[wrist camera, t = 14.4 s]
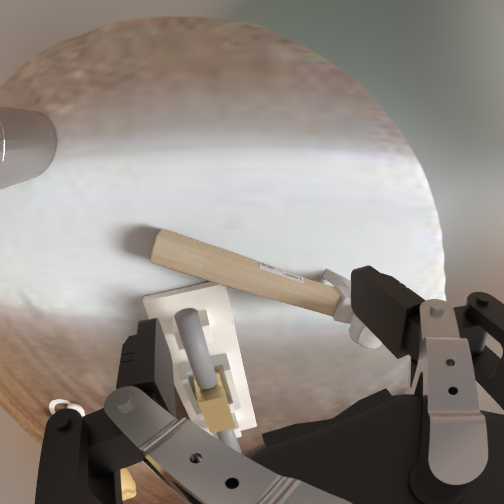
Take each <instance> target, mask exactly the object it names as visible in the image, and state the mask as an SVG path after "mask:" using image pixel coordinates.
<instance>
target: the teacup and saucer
mask: <svg viewBox="0 0 504 504" xmlns="http://www.w3.org/2000/svg"><path fill="white" fill-rule="evenodd" d="M58 403H65V404H68V405H67V408H71V409H75V410H77V411H78V412H79V413H80V414H81V416H82V417H83V416H85V414H84V409H83V408H82V407H81V406H80V405H78V404H75V403H72V402H70V401H67V400H62V399H56V400H53V401H51V402H50V404H49V410H50V412H51V413H52V415H53V414H54V413H56V412H55V409H54V407H55V405H56V404H58Z"/></svg>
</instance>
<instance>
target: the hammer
mask: <svg viewBox="0 0 504 504" xmlns="http://www.w3.org/2000/svg"><path fill="white" fill-rule="evenodd" d="M150 262H152V263H155V264H158V265H161V266H164V267H167V268H170V269H173V270H176V271H179V272H182V273H185V274H189V275H192V276H195V277H198V278H201V279H204V280H207V281H211V282H214V283H217V284H220V285H223V286H227V287H231V288H236V289H240V290H243V291H246V292H249V293H253V294H256V295H259V296H263V297H266V298H270V299H273V300H277V301H280V302H284V303H287V304H291V305H294V306H298V307H302V308H305V309H309V310H312V311H316V312H319V313H322V314H326V315H329V316H332V317H333V318H334V320H335V321H339V322H343V323H349V324H351V326H350V329H349V332H350V338H351V339H352V340H353V341H354V342H355V343H358V344H360V345H361V346H362V347H366V348H370V349H374V348H378V347H379V346H380V345H381V344H382V342H381V341H380V340H379V339H378V338H377V337H376V336H375V335H374V334H373V333H372V332H371V331H370V330H369V329H368V328H367V327H366V326H365V325H364V324H363V323H362V322H361V321H360V320H359V319H358V318H357V316H356V315H355V314H354V312H353V310H352V307H351V281H350V280H348V279H346V278H344V277H343V276H341V275H339V274H337V273H334V272H332V271H330V270H328V269H326V271H325V273H324V276H323V278H324V279H325V280H327V281H328V282H330V283H331V284H333V285H334V287H333V286H329V285H326V284H323V283H319V282H316V281H313V280H310V279H307V278H304V277H301V276H298V275H295V274H292V273H289V272H287V271H284V270H281V269H278V268H275V267H272V266H269V265H266V264H263V263H261V262H258V261H255V260H253V259H250V258H247V257H245V256H242V255H240V254H237V253H234V252H231V251H228V250H225V249H222V248H219V247H216V246H213V245H210V244H207V243H204V242H201V241H198V240H195V239H192V238H189V237H186V236H183V235H180V234H177V233H174V232H171V231H168V230H165V229H161V230H160V231H159V232H158V234H157V236H156V237H155V240H154V243H153V246H152V250H151V255H150Z"/></svg>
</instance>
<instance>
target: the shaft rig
mask: <svg viewBox="0 0 504 504" xmlns="http://www.w3.org/2000/svg"><path fill="white" fill-rule="evenodd" d="M143 304H144V307H145V310H146V313H147V316H148V319H152V318H158V319H159V322H160V324H161V327H162V330H163V333H164V336H165V339H166V341H167V344H168V347H169V350H170V353H171V357H172V362H173V377H174V385H175V387H176V389H177V392H178V394H179V396H180V398H181V401H182V403H183V405H184V407H185V409H186V411H187V414H188V416H189V418H190V420H191V421H192V422H193V423H195V424H196V425H197V426H199V427H200V428H202V429H203V430H205V431H206V432H208V433H209V434H211V435H212V436H214V437H215V438H217V439H218V440H220V441H221V442H223V443H225V444H226V445H228V446H229V447H231V448H233V449H234V450H236V451H237V452H239V453H241V449H240V447H239V444H238V441H237V438H238V437H242V435H241V432H240V431H241V430H245V429H249V428H253V427H257V424H256V420H255V416H254V412H253V407H252V403H251V399H250V394H249V390H248V386H247V381H246V377H245V372H244V368H243V363H242V359H241V354H240V350H239V345H238V340H237V336H236V331H235V326H234V322H233V317H232V312H231V307H230V302H229V297H228V293H227V288H226V286H223V285H220V284H217V283H214V282H207V283H202V284H198V285H194V286H189V287H185V288H180V289H176V290H171V291H167V292H162V293H158V294H153V295H148V296H144V297H143ZM218 369H219V373H220V376H221V379H222V383H223V386H224V389H225V392H226V396H227V399H228V402H229V406H230V409H231V413H232V417H233V420H234V424H235V428H232V429H228V430H224V431H219V432H215V433H210V430H209V428H208V426H207V424H206V421H205V419H204V417H203V415H202V412H201V410H200V407H199V405H198V403H197V396H196V390H195V383H194V377H195V380H196V382H197V385H198V387H200V388H202V389H210V388H212V387H214V386H215V385H216V384H217V377H216V374H215V371H214V370H218ZM193 375H194V376H193ZM241 454H242V453H241Z"/></svg>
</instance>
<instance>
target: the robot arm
mask: <svg viewBox="0 0 504 504" xmlns="http://www.w3.org/2000/svg"><path fill="white" fill-rule="evenodd" d="M56 143H57V140H56V132H55V128H54V126H53V124H52V122H51V121H50V120H49V118H48V117H46V116H45V115H44V114H42V113H39V112H34V111H28V110H22V109H15V108H7V107H0V190H1V189H3V188H6V187H9V186H11V185H14V184H17V183H20V182H23V181H26V180H29V179H32V178H34V177H37V176H38V175H40V174H42V173H43V172H44V171H45V170H46V169H47V167H48V166H49V165H50V163H51V161H52V159H53V157H54V154H55V150H56ZM351 307H352V310H353V312H354V314H355V315H356V316H357V318H358V319H359V320H360V321H361V322H362V323H363V324H364V325H365V326H366V327H367V328H368V329H369V330H370V331H371V332H372V333H373V334H374V335H375V336H376V337H377V338H378V339H379V340H380V341H381V342H382V343H383V344H384V345H385V346H386V347H387V348H388V349H389V350H390V351H391V353H392V354H393V355H394V356H395V357H396V358H397V359H399V358H402V357H404V356H406V355H408V354H409V355H410V360H409V377H408V394H401V395H393V396H392V395H391V394H390V393H389V391H388V390H387V389H383V390H381V391H379V392H377V393H375V394H372V395H370V396H368V397H366V398H363V399H361V400H359V401H357V402H356V403H355V404H353V405H352V406H350V407H349V408H347V409H346V410H345V411H343V412H342V413H340V414H339V415H337V416H336V417H334V418H332V419H329V420H322V421H315V422H308V423H300V424H294V425H291V426H287V427H284V428H281V429H278V430H274V431H271V432H267V433H264V434H262V437H263V442H264V443H263V444H262V445H260V446H258V447H256V448H255V449H253V450H252V451H250V452H249V453H248V454H247V455H246V456H244V455H242V454H241V453H239V452H237V451H236V450H234V449H233V448H231V447H229V446H228V445H226V444H225V443H223V442H221V441H220V440H218V439H217V438H215V437H214V436H212V435H211V434H209V433H208V432H206V431H205V430H203V429H202V428H200V427H199V426H197V425H196V424H195V423H193V422H192V421H190V420H189V419H187V418H185V417H182V418H180V419H179V420H178V419H177V415H176V403H175V391H174V377H173V362H172V357H171V353H170V350H169V347H168V344H167V341H166V339H165V336H164V333H163V330H162V327H161V324H160V322H159V319H158V318H152V319H148V320H143V321H139V323H138V330H137V335H133V336H129V337H128V339H127V340H126V341H125V343H124V344H123V347H122V353H121V355H122V356H121V359H120V365H119V372H118V379H117V386H116V390H114V391H113V392H111V393H110V394H109V395H108V396H107V398H106V399H105V402H104V408H102V409H101V410H98V411H96V412H93V413H91V414H88V415H85V416H83V417H82V416H81V414H80V413H79V412H78V411H77V410H75V409H71V408H66V409H62V410H59V411H57V412H56V413H54V414H53V415H52V416H51V417H50V418H49V420H48V422H47V424H46V429H45V434H44V439H43V444H42V451H41V457H40V463H39V470H38V478H37V487H36V497H35V504H123V500H122V488H121V471H120V470H121V469H123V468H126V467H129V466H131V465H134V464H136V463H139V462H141V461H142V462H143V463H144V464H145V465H146V466H147V467H148V468H149V469H150V470H151V471H152V472H154V473H155V474H156V475H157V476H158V477H159V478H160V479H161V480H162V481H163V482H164V483H166V484H167V485H168V486H169V487H170V488H171V489H172V490H174V491H175V492H176V493H177V494H178V495H179V496H180V497H181V498H182V499H183V500H184V501H186V502H187V503H188V504H504V415H501V414H496V413H491V412H486V411H482V410H479V402H478V394H477V387H476V381H477V382H478V383H479V384H480V385H481V386H482V387H483V388H484V389H485V390H486V391H487V393H488V394H489V395H490V396H491V397H492V398H493V399H494V400H495V401H496V402H497V403H498V404H499V405H500V406H501V407H502V409H503V410H504V304H503V303H501V302H500V301H499V300H497V299H496V298H494V297H493V296H491V295H489V294H487V293H483V292H475V293H471V294H470V295H469V296H468V298H467V302H466V306H460V307H455V308H453V307H452V306H451V305H450V304H449V303H447V302H445V301H443V300H438V299H431V300H427V301H426V300H424V299H423V298H421V297H420V296H419V295H417V294H416V293H415V292H413V291H412V290H410V289H409V288H406V286H405V285H403V284H402V283H401V284H400V282H399V281H398V280H396V279H395V278H393V277H392V276H389V275H386V274H383V273H380V272H378V271H377V270H376V269H374V268H373V267H371V266H365V267H361V268H358V269H354V270H353V271H352V273H351ZM489 334H490V335H491V336H492V337H493V338H495V339H496V340H497V341H498V342H499V343H500V344H501V345H502V348H503V355H502V358H501V359H500V358H499V357H498V356H497V355H496V354H495V353H494V352H493V351H492V350H490V349H489V348H488V347H487V346H486V345H485V344H486V341H487V338H488V335H489Z"/></svg>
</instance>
